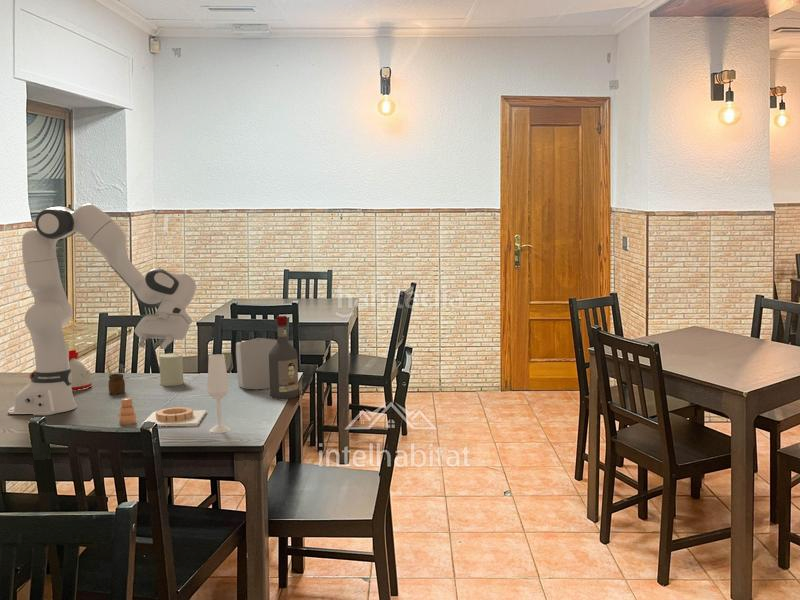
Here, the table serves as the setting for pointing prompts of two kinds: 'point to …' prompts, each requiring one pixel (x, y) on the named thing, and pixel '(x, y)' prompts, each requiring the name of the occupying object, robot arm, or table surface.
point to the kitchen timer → (78, 372)
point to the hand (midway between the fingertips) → (151, 347)
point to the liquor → (283, 365)
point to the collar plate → (179, 423)
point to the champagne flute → (217, 386)
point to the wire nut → (127, 412)
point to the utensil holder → (116, 382)
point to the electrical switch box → (254, 363)
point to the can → (171, 369)
